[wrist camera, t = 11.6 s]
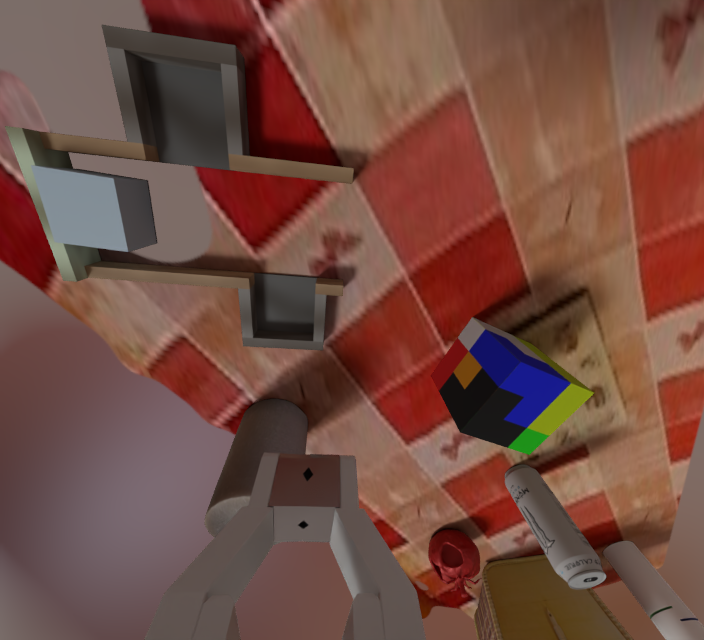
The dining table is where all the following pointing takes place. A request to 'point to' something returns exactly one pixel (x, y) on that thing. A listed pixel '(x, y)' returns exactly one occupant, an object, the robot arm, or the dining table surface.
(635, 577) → the cylindrical container
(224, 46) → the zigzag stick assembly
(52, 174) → the block
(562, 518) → the energy drink can
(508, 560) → the picnic basket
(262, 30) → the dining table surface
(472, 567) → the pomegranate
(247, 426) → the pillar candle
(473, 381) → the puzzle toy
